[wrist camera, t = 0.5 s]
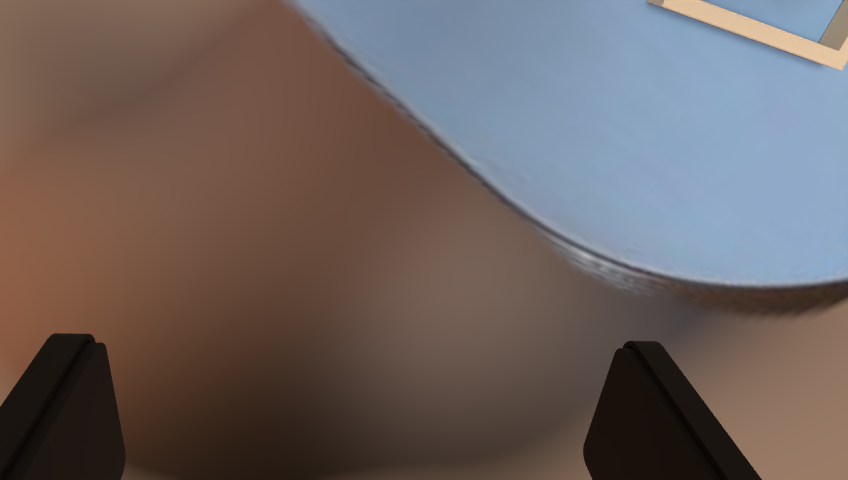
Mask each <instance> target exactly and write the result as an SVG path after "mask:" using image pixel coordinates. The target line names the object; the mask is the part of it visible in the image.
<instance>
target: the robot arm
mask: <svg viewBox="0 0 848 480" xmlns="http://www.w3.org/2000/svg"><path fill="white" fill-rule="evenodd" d="M583 455H584V460H585V463H586V466H587V468H588V471H589V473H590V475H591V477H592V480H762V479H761V478H760V477H759V475H758V474H757V473H756V471H755V470H754V469H753V467H752V466H751V465H750V463H749V462H748V460H747V459H746V458H745V456H744V455H743V454H742V452H741V451H740V450H739V449H738V447H737V446H736V444H735V443H734V442H733V440H732V439H731V438H730V436H729V435H728V434H727V432H726V431H725V430H724V428H723V427H722V425H721V424H720V423H719V421H718V420H717V419H716V417H715V416H714V415H713V413H712V412H711V411H710V409H709V408H708V407H707V405H706V404H705V403H704V401H703V400H702V399H701V397H700V396H699V394H698V393H697V392H696V390H695V389H694V388H693V386H692V385H691V384H690V382H689V381H688V380H687V378H686V377H685V376H684V374H683V373H682V372H681V370H680V369H679V368H678V366H677V365H676V363H675V362H674V361H673V360H672V358H671V357H670V356H669V354H668V353H667V352H666V350H665V349H664V347H663V346H662V345H661V344H660V343H658V342H656V341H628V342H626V343H625V344H624V346H623V348H620V349H617V350H616V352H615V354H614V357H613V360H612V363H611V366H610V369H609V372H608V375H607V378H606V381H605V384H604V386H603V390H602V392H601V395H600V398H599V402H598V404H597V407H596V410H595V413H594V416H593V419H592V422H591V425H590V428H589V431H588V434H587V437H586V440H585V443H584V448H583ZM125 458H126V456H125V447H124V442H123V436H122V431H121V425H120V420H119V414H118V409H117V404H116V398H115V393H114V387H113V382H112V377H111V371H110V366H109V360H108V355H107V349H106V346H105V345H104V343H96V342H95V339H94V337H93V336H92V335H91V334H58V333H57V334H56V333H55V334H52V335H51V336H50V337H49V338H48V339H47V341H46V342H45V343H44V345H43V346H42V348H41V349H40V351H39V352H38V353H37V355H36V356H35V358H34V359H33V361H32V362H31V363H30V365H29V366H28V368H27V369H26V371H25V372H24V374H23V375H22V376H21V378H20V379H19V381H18V382H17V384H16V385H15V387H14V388H13V390H12V391H11V392H10V394H9V395H8V396H7V398H6V399H5V401H4V402H3V404H2V405H1V407H0V480H121V477H122V474H123V471H124V466H125Z"/></svg>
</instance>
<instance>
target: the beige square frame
mask: <svg viewBox="0 0 848 480" xmlns="http://www.w3.org/2000/svg"><path fill="white" fill-rule="evenodd" d="M647 2H648V3H651V4H654V5H657V6H659V7H662V8H665V9H668V10H671V11H673V12H676V13H679V14H682V15H685V16H687V17H690V18H693V19H696V20H699V21H701V22H704V23H707V24H710V25H713V26H715V27H718V28H721V29H724V30H727V31H729V32H732V33H735V34H738V35H741V36H743V37H746V38H749V39H752V40H755V41H757V42H760V43H763V44H766V45H769V46H771V47H774V48H777V49H780V50H783V51H785V52H788V53H791V54H794V55H797V56H799V57H802V58H805V59H808V60H811V61H813V62H816V63H819V64H822V65H825V66H828V67H832V68H835V69H838V70H842V69H843V67H844V66H845V64H846V62H847V61H848V0H844V1H843V2H842V4H841V6H840V7H839V9H838V11H837V12H836V14H835V16H834V18H833V19H832V21H831V23H830V24H829V26H828V28H827V29H826V31H825V33H824V34H823V36H822V38H821V40H820V41H819V43H815V42H812V41H810V40H807V39H804V38H802V37H799V36H796V35H793V34H791V33H788V32H785V31H783V30H780V29H777V28H774V27H772V26H769V25H766V24H763V23H761V22H758V21H755V20H753V19H750V18H747V17H744V16H742V15H739V14H736V13H734V12H731V11H728V10H725V9H723V8H720V7H717V6H715V5H712V4H709V3H706V2H704V1H701V0H647Z"/></svg>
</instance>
